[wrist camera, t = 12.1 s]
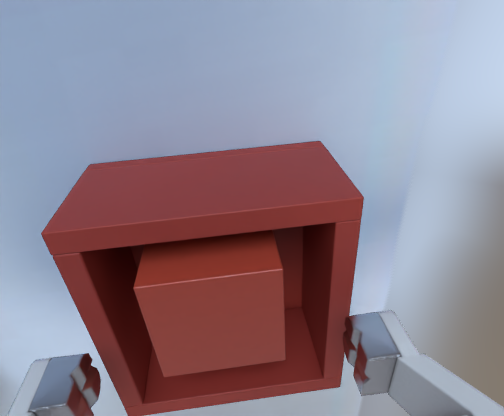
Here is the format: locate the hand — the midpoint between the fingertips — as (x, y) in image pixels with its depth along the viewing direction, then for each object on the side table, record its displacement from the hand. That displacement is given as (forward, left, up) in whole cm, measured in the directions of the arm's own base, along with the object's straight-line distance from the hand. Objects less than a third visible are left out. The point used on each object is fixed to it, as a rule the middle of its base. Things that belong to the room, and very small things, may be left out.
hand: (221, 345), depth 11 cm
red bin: (0, 0, -6) cm, 6 cm away
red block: (0, 0, -5) cm, 5 cm away
